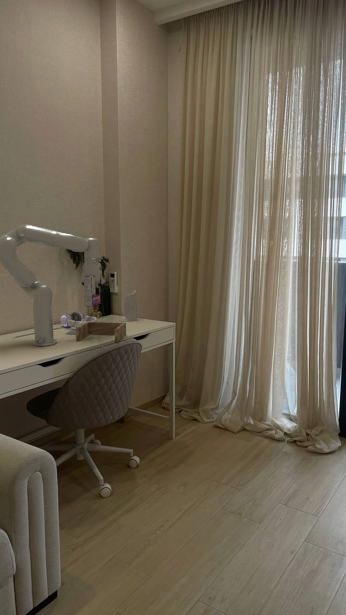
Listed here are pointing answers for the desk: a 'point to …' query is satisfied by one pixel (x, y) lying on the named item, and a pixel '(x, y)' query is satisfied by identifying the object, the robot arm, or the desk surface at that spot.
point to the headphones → (77, 319)
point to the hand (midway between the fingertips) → (92, 294)
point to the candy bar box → (91, 292)
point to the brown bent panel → (101, 330)
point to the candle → (130, 307)
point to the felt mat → (72, 332)
